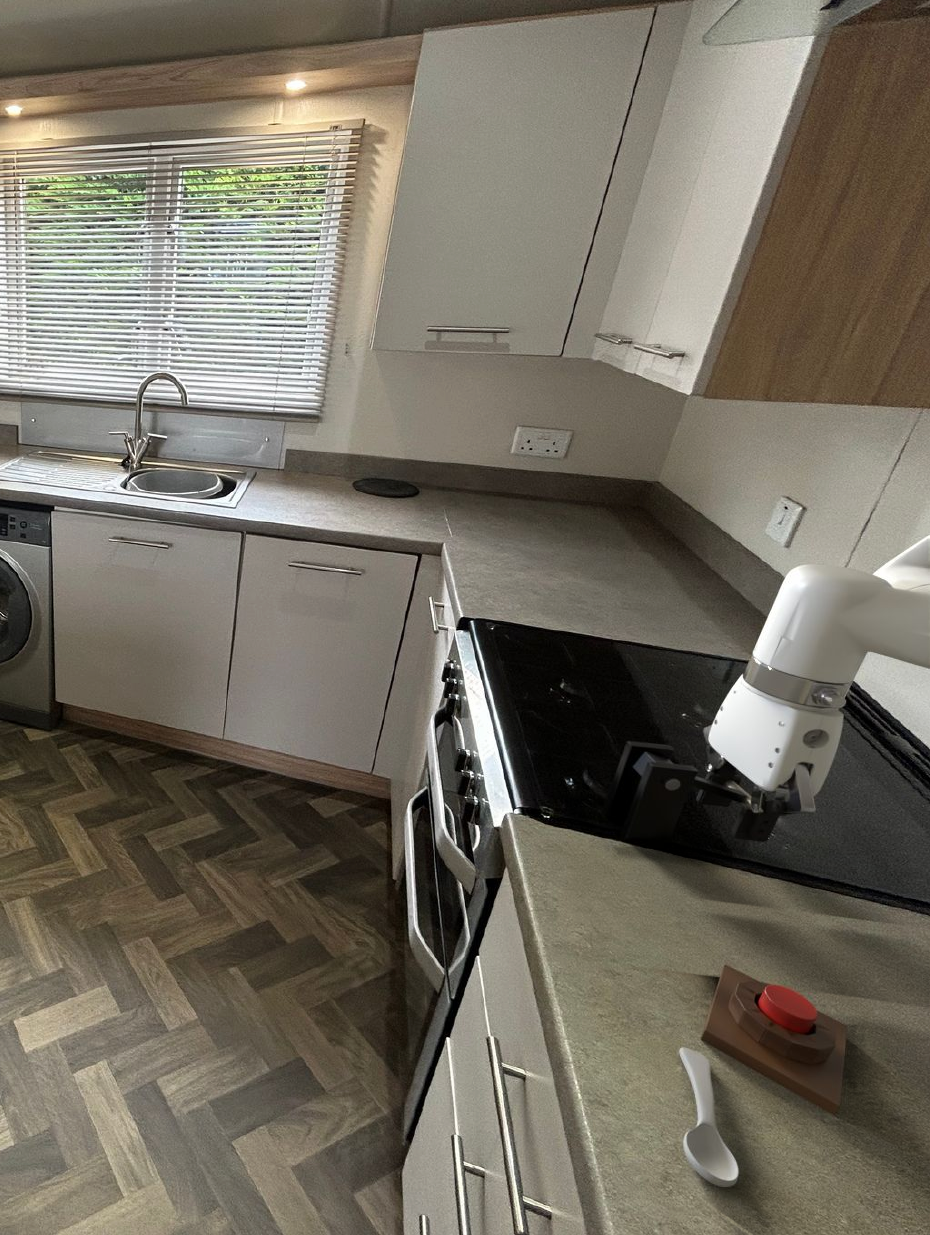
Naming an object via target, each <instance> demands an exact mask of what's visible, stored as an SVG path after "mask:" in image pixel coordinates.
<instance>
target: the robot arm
mask: <svg viewBox="0 0 930 1235" xmlns="http://www.w3.org/2000/svg"><path fill="white" fill-rule="evenodd" d="M868 653H874V654H877V655H880V656H884V657H888V658H890V659H891V658H892V659H894V660H899V661H901V662H905V663H908V664H911V665H915V666H918V667H921V668H925V669H929V670H930V534H929V535H927V536H925V537H924V538H922V539H921V540H919V541H918V542H916V543H915V544H913V545H912V546H910V547H909V548H907V549H906V550H904V551H903V552H901V553H900V554H898V555H897V556H895V557H894V558H892V559H891V560H889V561H888V562H886V563H885V564H884V565H882V566H881V567H879V569H877V570H876V571H875V572H873V573H870V572H866V571H863V570H860V569H856V568H850V567H845V566H839V565H833V564H825V563H823V564H822V563H807V564H802V565H798V566H796V567H794V568H792V569H791V570H789V571H788V573H787V574H786V576H785V577H784V579H783V581H782V584H781V585H780V588H779V590H778V593H777V595H776V597H775V600H774V601H773V604H772V607H771V609H770V611H769V614H768V616H767V618H766V621H765V622H764V625H763V626H762V629H761V632H760V634H759V637H758V639H757V641H756V644H755V646H754V648H753V650H752V653H751V655H750V658H749V660H748V663H747V664H746V667H745V669H744V672H743V673H742V674H741V675H740V676H739V677H738V679H737V680H736V682H735V683H734V684H733V686H732V687H731V689H730V690H729V692H728V693H727V695H726V696H725V698H724V700H723V702H722V703H721V705H720V707H719V710H718V711H717V713H716V715H715V718H714V720H713V722H712V724H711V725H707V726H706V727H704V728H703V729H702V734H703V737H704V740H705V744H706V747H705V748H706V749H705V750H706V754H707V758H708V760H707V761H706V763H705V765H704V769H705V770H706V771H707V773H706V775H705V777H704V779H706V780H709V781H712V782H715V783H718V784H721V785H723V783H724V782H725V781H728V780H732V781H734V782H735V783H736V784H737V785H739V786H740V784H741V781H742V778H741V777H740V776H738V775H739V774H740V773H741V774H743V775H744V777H746V778H747V779H749V780H750V781H751V782H753V785H752V790H751V803H750V807H749V806H744V805H743V807H741V810H740V813H739V815H738V817H737V819H736V821H735V823H734V825H733V827H732V829H731V835H732V836H733V837H734V838H735V839H737V840H744V841H753V842H762V843H763V842H767V841H769V838H770V837H771V834H772V832H773V830H774V828H775V826H776V824H777V822H778V820H779V818H780V817H787V816H788V815H796V814H805V815H806V814H807V815H808V814H809V815H810V814H815V813H816V810H817V809H816V803H815V798H814V797H815V796H817V795H818V794H819V792H821V789H822V787H823V785H824V784H825V781H826V779H827V777H828V774H829V772H830V770H831V767H832V765H833V761H834V759H835V757H836V753H837V752H838V748H839V745H840V744H839V743H840V740H841V737H842V731H843V725H844V717H845V716H844V713H842V712H841V711H840V709H841V708H844V707H845V706H846V704H847V700H846V699H845V698H846V696H847V694H848V692H849V690H850V688H851V686H852V684H853V683H854V680H855V678H856V676H857V674H858V672H859V670H860V668H861V666H862V664H863V662H864V660H865V658H866V656H867V655H868ZM768 793H775V794H774V799H771V800H767V799H768ZM695 800H696V801H697V802H698V803H699V805H705V806H714V807H723V808H728V807H730V806H731V805H732V802H733V800H730V799H727V798H724V797H721V796H718V795H715V794H712V793H709V792H706V791H703V790H701V789H699V791H698V793H697V795H696V798H695Z"/></svg>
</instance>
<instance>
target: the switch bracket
mask: <svg viewBox="0 0 930 1235" xmlns="http://www.w3.org/2000/svg"><path fill="white" fill-rule="evenodd" d="M645 751H646V752H649V753H652V754H655V755H658V756H661V757H664V758H667V759H669V760H670V761H672V760H671V759H672V757H673V755H674V752H675V749H674V748H673V747H672V746H671V745H669V744H661V743H651V742H643V741H642V742H641V741H631V740H627V741H626V743H625V746H624V748H623V752H622V755H621V756H620V760H619V763H618V766H617V768H616V771H615V774H614V777H613V779H612V782H611V784H610V787H609V789H608V793H607V795H606V798H605V801H604V804H603V806H602V809H601V812H600V813H601V814H602V816H603V817H604V818H606V819H612V820H622V821H624V822H623V825H622V828H621V830H620V834H619V837H620V838H621V839H622V840H623V841H624V842H629V843H637V844H638V843H639V844H647V845H653V846H655V845H656V846H663V847H664V846H665V847H667V846H668V845H669V842H670V839H671V837H672V836H673V833H674V830H675V828H676V825H677V823H678V820H679V818H680V816H681V813H682V811H683V808H684V806H685V804H686V801H687V799H688V796H689V794H690V792H691V789H692V788H693V787H692V784H693V782H694V780H695V777H696V776H697V775H698V772H699V771H698V769H696V767H694V766H693V765H686V764H680V763H679V764H677V763H673V764H669V763H659V762H649V761H648V763H647V765H646V768H645V771H644V773H643V776H641V775H640V774H639V773H638V772H637V771H636V770H635V769H634V768H633V766H634V765H635V763H636V762H637V761H638V759H639V758H640V757H641V755H642V754H643V753H644V752H645Z"/></svg>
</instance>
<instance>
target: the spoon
mask: <svg viewBox="0 0 930 1235" xmlns="http://www.w3.org/2000/svg"><path fill="white" fill-rule="evenodd" d="M678 1052H679V1057H680V1058H681V1061H682V1064H683V1065H684V1068H685V1070H686V1072H687V1075H688V1079H689V1080H690V1083H691V1086H692V1090H693V1092H694V1096H695V1103H696V1110H697V1123H696V1126H695V1127H694V1128H692V1129H690V1130H688V1131H687V1132H686V1133H685V1135H684V1136H683V1141H682V1145H683V1150H684V1154H685V1156H686V1158H687V1160H688V1162H689V1163H690V1165H691V1167H692V1168H693V1169H694V1170H695V1171H696V1172H697V1174H698V1175H700V1177H702V1178H703V1179H704V1180H706V1181H707V1182H709V1183H710V1184H712V1185H714V1186H718V1187H721V1188H729V1187H733V1186H734V1185H735V1184H736V1183H737V1181H738V1179H739V1177H740V1176H739V1175H740V1174H739V1173H740V1171H739V1166H738V1162H737V1161H736V1158H735V1156H734V1155H733V1154H732V1152H731V1150H730V1149H729V1147H727V1145H726V1144H725V1142H724V1141H723V1139H722V1137H721V1135H720V1132H719V1130H718V1125H717V1117H716V1106H715V1105H716V1104H715V1094H714V1088H713V1083H712V1075H711V1074H712V1073H711V1072H712V1066H711V1065H712V1064H711V1061H710V1060H709V1059H708V1057H706V1056H705V1055H703V1054H701V1053H699V1052H697V1051H694V1050H693V1049H691V1048H688V1047H681V1048H680V1049H679V1050H678Z"/></svg>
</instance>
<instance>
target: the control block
mask: <svg viewBox="0 0 930 1235" xmlns="http://www.w3.org/2000/svg"><path fill="white" fill-rule="evenodd" d="M768 985H773V984H772V983H767V982H763V981H759V980H758V979H755V978H753V977H751V976H749V975H747V974H746V973H743V972H742V971H740V970H738V969H735V968H734V967H731V966H730V965H728V964H726V963H724V964H723V965H722V968H721V971H720V975H719V977H718V978H717V981H716V984H715V989H714V992H713V995H712V997H711V1002H710V1005H709V1008H708V1011H707V1015H706V1018H705V1022H704V1024H703V1028H702V1032H701V1036H700V1040H701V1041H702V1042H704V1043H706V1044H708V1045H709V1046H711V1047H712V1048H714V1049H716V1050H718V1051H720V1052H722V1053H724V1054H725V1055H727V1056H728V1057H731V1058H732V1059H734V1060H735V1061H737V1062H739V1063H741V1064H743V1065H745V1066H746V1067H747V1068H750V1070H751V1069H752V1070H753V1071H755V1072H757V1073H758V1074H760V1075H762V1076H764V1077H766V1078H767V1079H769V1080H770V1081H773V1082H774V1083H776V1084H778V1085H780V1086H781V1087H783V1088H785V1089H787V1090H788V1091H790V1092H792V1093H794V1094H795V1095H797V1096H799V1097H800V1098H802V1099H804V1100H805V1101H808V1102H809V1103H811V1104H813V1105H814V1106H817V1107H818V1108H820V1109H822V1110H823V1111H825V1112H827V1113H829V1114H830V1115H832V1116H835V1115H836V1113H837V1111H838V1110H839V1108H840V1107H841V1098H842V1097H841V1096H842V1089H843V1088H842V1087H843V1078H844V1077H843V1076H844V1069H845V1068H844V1066H845V1055H846V1047H847V1046H846V1044H847V1036H848V1035H847V1034H848V1025H847V1024H845V1023H843V1022H841V1021H839V1020H837V1019H835V1018H833V1017H831V1016H829V1015H827V1014H825V1013H823V1012H821V1011H819V1010H817V1013H818V1017H817V1019H816V1020H815V1022H814V1024H813V1026H812V1027H811V1029H810V1031H809V1032H808V1033H805V1034H799V1033H795V1032H791V1031H789V1030H787V1029H785V1028H783V1027H781V1026H779V1025H777V1024H775V1023H774V1022H773V1021H771V1020H770V1019H769V1018H768V1017H766V1016H765V1015H764V1014H763V1013H762V1012H761V1011H760V1009H759V1007H758V1001H759V999H760V997H761V995H762V993H763V991H764V989H765V987H766V986H768Z"/></svg>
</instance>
